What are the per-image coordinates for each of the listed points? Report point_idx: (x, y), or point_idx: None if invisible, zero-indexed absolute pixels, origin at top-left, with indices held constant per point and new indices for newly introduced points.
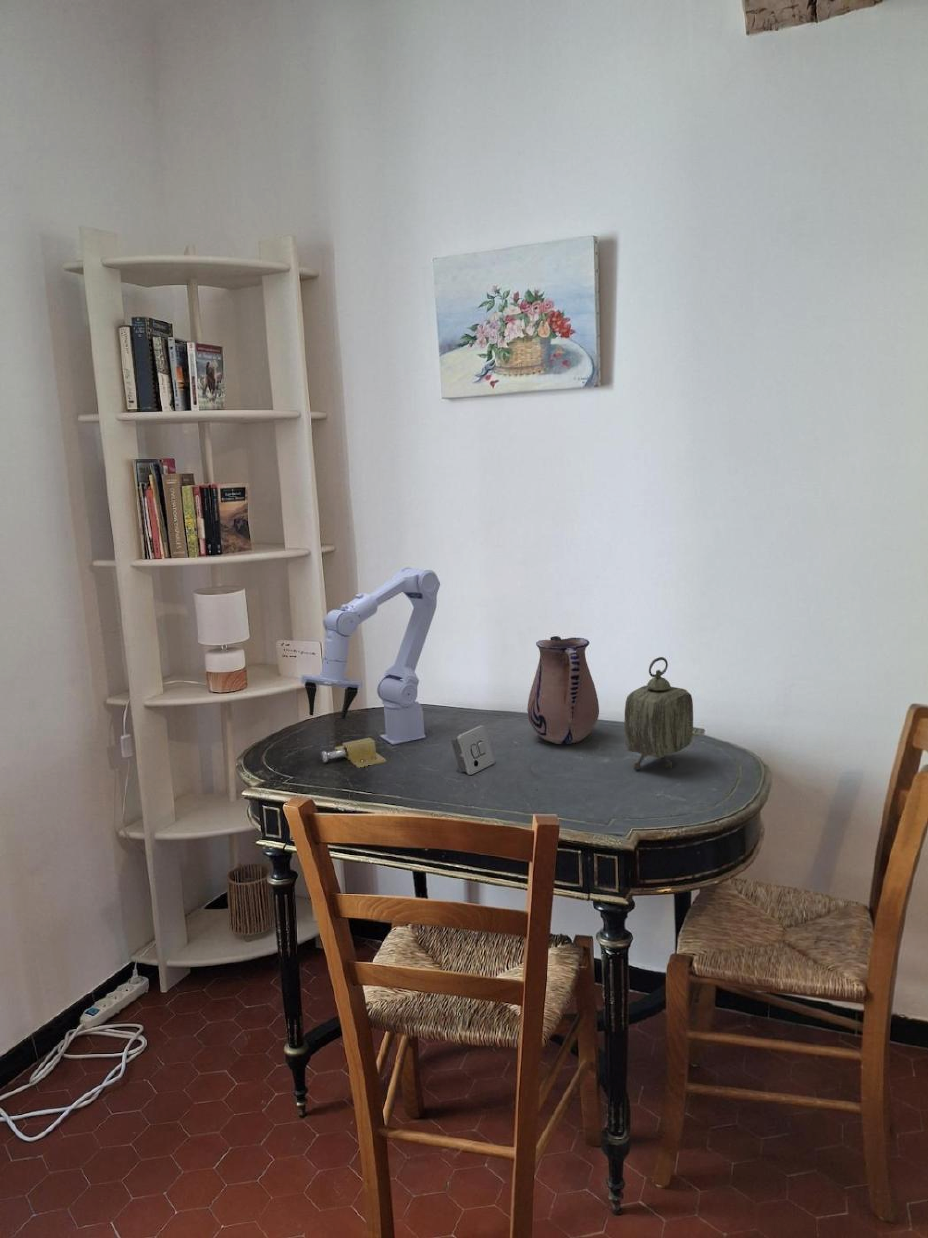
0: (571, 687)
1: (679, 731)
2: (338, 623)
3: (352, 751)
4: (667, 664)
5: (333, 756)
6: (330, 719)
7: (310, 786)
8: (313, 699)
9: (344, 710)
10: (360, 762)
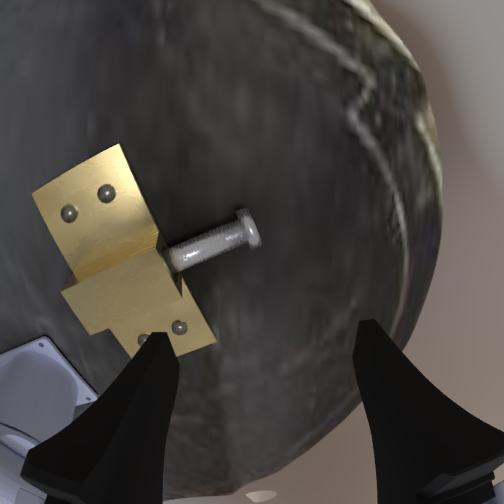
0: None
1: None
2: None
3: (141, 246)
4: None
5: (215, 229)
6: (238, 477)
7: (292, 14)
8: (409, 396)
9: (144, 368)
10: (112, 176)
